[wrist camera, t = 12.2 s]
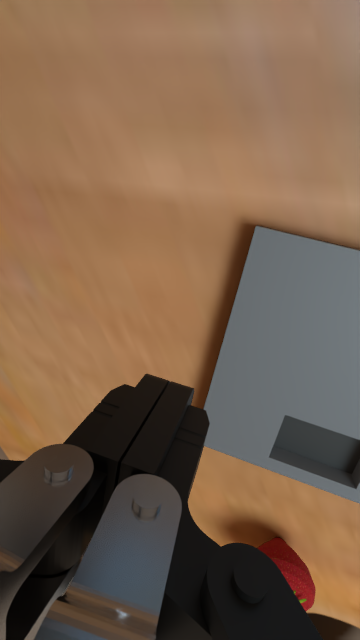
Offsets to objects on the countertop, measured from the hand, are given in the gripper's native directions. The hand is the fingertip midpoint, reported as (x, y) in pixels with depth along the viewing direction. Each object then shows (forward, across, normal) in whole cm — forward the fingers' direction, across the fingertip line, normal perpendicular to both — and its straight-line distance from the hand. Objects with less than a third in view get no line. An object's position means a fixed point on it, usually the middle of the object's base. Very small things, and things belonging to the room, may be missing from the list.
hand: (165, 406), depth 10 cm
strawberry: (+25, -13, +31) cm, 42 cm away
